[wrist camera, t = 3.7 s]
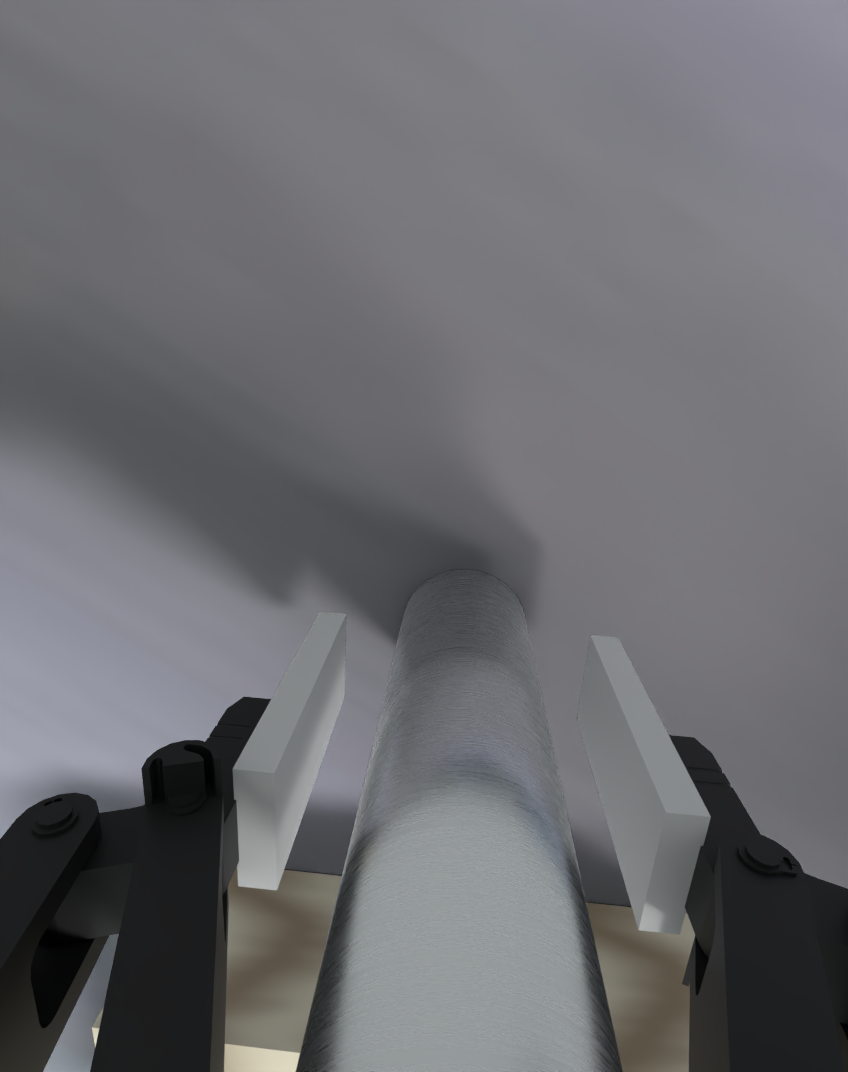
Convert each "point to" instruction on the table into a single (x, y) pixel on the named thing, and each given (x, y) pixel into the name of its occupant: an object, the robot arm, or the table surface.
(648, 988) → the block
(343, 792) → the table surface
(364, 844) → the steel pin
